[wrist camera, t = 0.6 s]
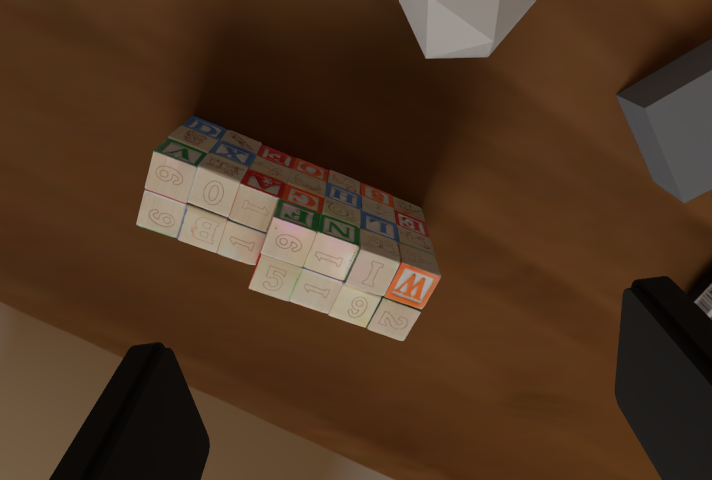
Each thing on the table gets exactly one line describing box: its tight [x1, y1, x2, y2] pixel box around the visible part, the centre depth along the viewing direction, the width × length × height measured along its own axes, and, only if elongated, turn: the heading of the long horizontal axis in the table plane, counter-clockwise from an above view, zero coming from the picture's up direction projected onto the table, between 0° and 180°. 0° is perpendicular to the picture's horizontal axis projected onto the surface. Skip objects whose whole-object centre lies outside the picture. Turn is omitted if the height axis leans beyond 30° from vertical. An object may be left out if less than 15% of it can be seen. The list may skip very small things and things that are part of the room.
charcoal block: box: [616, 38, 712, 203], centre depth 40 cm, size 9×9×5 cm
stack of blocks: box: [136, 116, 441, 341], centre depth 41 cm, size 21×6×12 cm, turn 67°
